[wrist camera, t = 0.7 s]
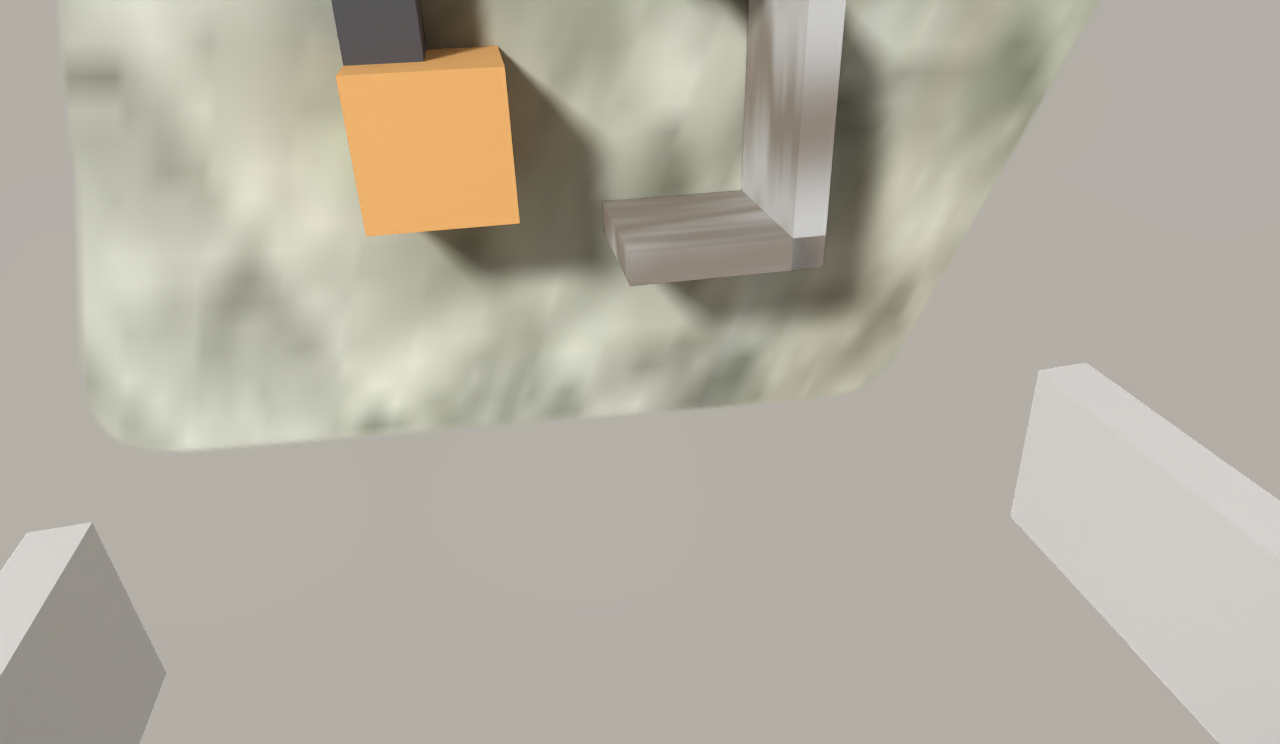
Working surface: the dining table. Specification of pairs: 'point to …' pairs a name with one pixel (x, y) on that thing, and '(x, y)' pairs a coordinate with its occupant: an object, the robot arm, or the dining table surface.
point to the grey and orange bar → (423, 123)
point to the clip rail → (753, 164)
